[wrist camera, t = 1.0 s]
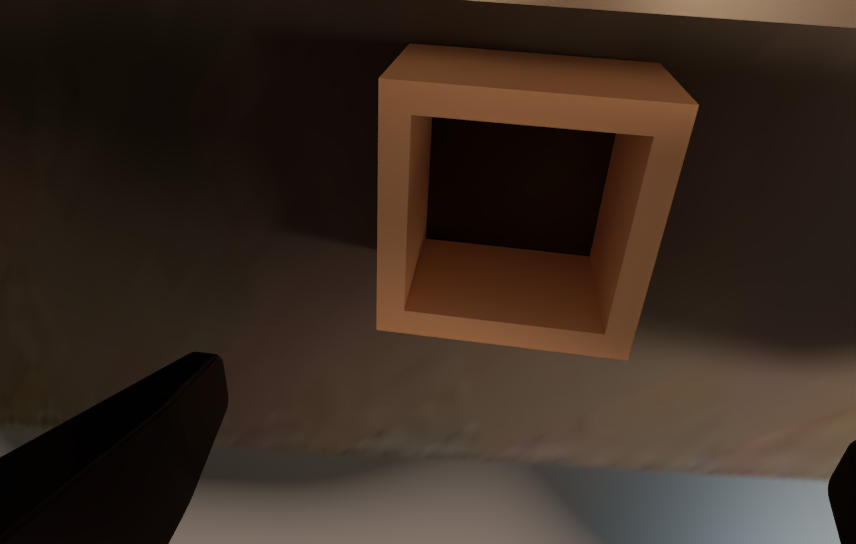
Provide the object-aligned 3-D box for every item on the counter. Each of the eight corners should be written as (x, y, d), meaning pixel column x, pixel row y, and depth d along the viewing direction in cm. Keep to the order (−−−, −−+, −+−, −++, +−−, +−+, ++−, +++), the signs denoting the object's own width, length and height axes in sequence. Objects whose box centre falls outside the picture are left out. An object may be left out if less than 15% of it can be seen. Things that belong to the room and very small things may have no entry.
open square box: (660, 62, 15) (699, 105, 12) (608, 278, 19) (627, 360, 15) (410, 42, 16) (378, 78, 12) (402, 255, 19) (376, 330, 16)
